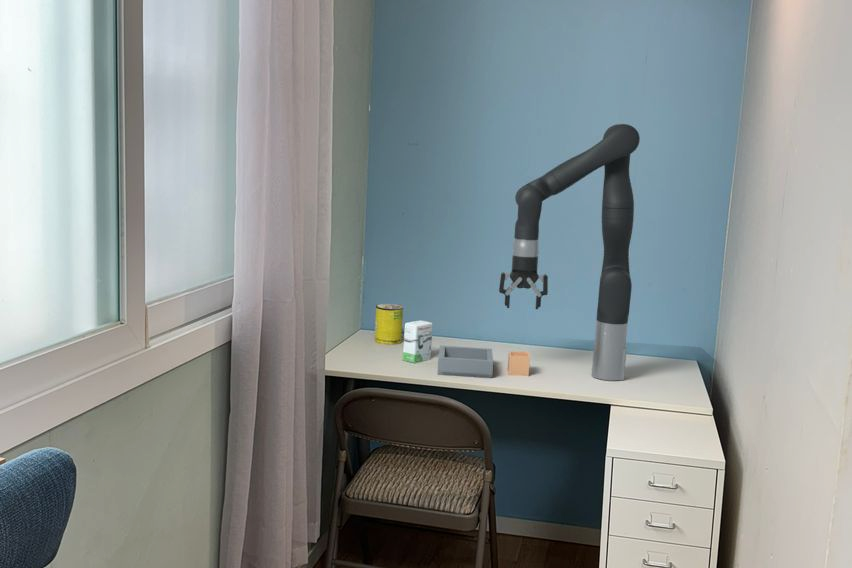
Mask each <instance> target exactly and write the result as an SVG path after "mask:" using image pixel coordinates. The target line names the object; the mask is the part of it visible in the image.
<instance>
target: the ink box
mask: <svg viewBox="0 0 852 568" xmlns="http://www.w3.org/2000/svg"><path fill="white" fill-rule="evenodd" d="M433 326H434V324H433V322H430V321H426V320H422V319H421V320H415V321H409V322H405V324H404V334H403V350H402V351H403V353H402V361H405V362H409V363H412V364H416V363H421V362H424V361H428V360H431V359H432V344H433V343H432V341H433Z"/></svg>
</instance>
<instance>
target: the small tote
mask: <svg viewBox="0 0 852 568" xmlns="http://www.w3.org/2000/svg"><path fill="white" fill-rule="evenodd" d="M530 359H531V355H530V353H529V351H517V350H515V351H514V350H508V359H507V375H508V376H516V377H518V376H519V377H520V376H521V377H530V376H529V374H530V363H531V362H530Z"/></svg>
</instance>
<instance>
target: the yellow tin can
mask: <svg viewBox="0 0 852 568" xmlns="http://www.w3.org/2000/svg"><path fill="white" fill-rule="evenodd" d="M403 312H404V306H403V305H399V304H396V303H395V304H393V303H380V304H379V303H378V304H376V305H375V323H374V324H375V325H374V342H375V343H377V344H380V345H386V346H387V345H390V346H391V345H393V346H394V345H400V344H401V343H402V336H403V335H402V334H403V333H402V332H403V317H404V316H403V315H404V313H403Z"/></svg>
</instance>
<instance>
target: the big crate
mask: <svg viewBox="0 0 852 568" xmlns="http://www.w3.org/2000/svg"><path fill="white" fill-rule="evenodd" d="M437 359H438V361H437V376H438V375H439V376H449V377H450V376H452V377H465V378H467V377H469V378H484V379H492V378H493V371H494V370H493V369H494V368H493V367H494V358H493V349H492V348H486V347H468V346H452V345H440V346H439V352H438V358H437Z"/></svg>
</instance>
